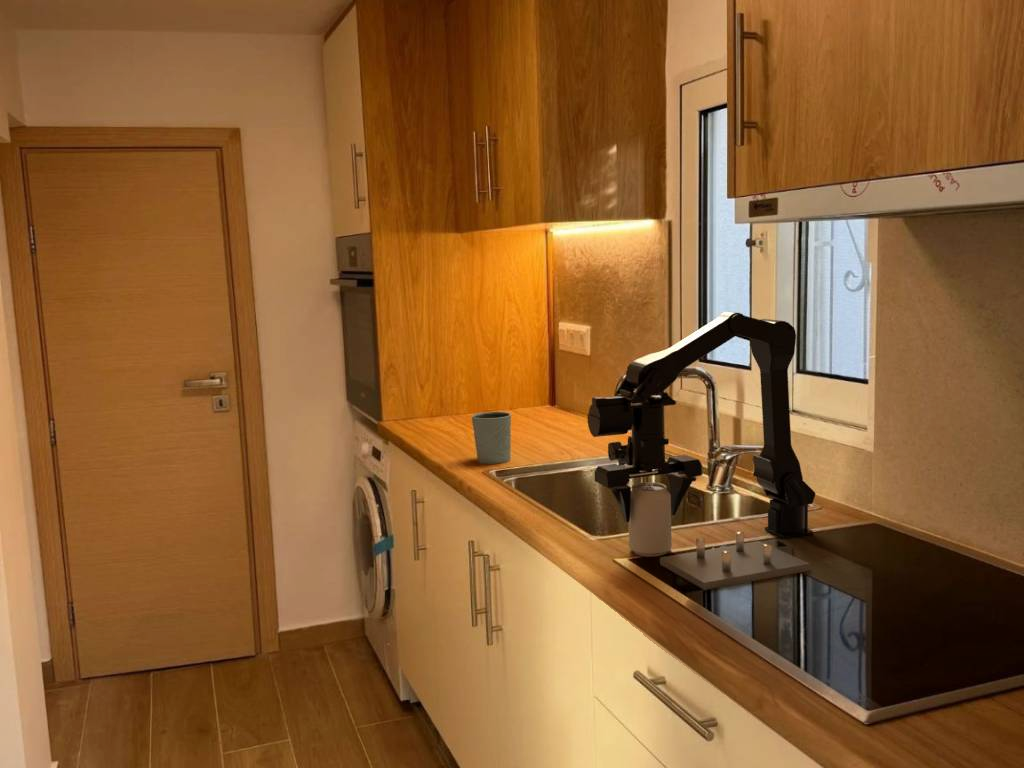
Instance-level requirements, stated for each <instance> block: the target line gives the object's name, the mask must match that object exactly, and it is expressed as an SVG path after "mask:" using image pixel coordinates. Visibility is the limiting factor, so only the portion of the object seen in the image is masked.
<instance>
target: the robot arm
mask: <svg viewBox="0 0 1024 768" xmlns="http://www.w3.org/2000/svg"><path fill="white" fill-rule="evenodd" d="M735 337H736V338H739V339H742V340H745V341H748V342H749V345H750V346H749V347H750V350H751V353H752V356H753V358H754V360H755V362H756V365H757V367H758V369H759V375H760V376H759V377H760V390H761V391H760V395H761V409H762V410H761V411H762V429H763V431H762V432H763V434H762V435H763V447H762V450H761V452H760V454H758V455H757V454H754V455H753V457H752V461H753V465H754V468H753V469H754V470H753V473H752V476H753V477H755V478H756V482H757V484H758V485H759V486H760V487H761V488H762V490H763V492H764V494H765V496H766V497H769V498H771V499H769V508H768V509H767V526H764V531H767V532H768V533H771V534H774V535H776V536H778V537H780V538H783V539H788V538H789V539H791V538H796V537H801V536H808V535H813V534H814V530H812V529H810V528H809V505H812V504H813V503H814V499H815V497H816V492H815V490H813V489H812V487H811V486H810V485H808V484H807V483H806V482H805V481H804V478H803V473H802V468H801V463H800V460H799V459H798V456H797V454H796V452H795V450H794V449H793V446H792V445H793V444H792V435H791V434H792V433H791V415H790V414H791V412H790V409H791V408H790V392H789V391H790V390H789V389H790V388H789V371H788V370H789V366H790V365H791V362H792V360H793V358H794V356H795V351H796V341H797V333H796V329H795V327H794V326H792V324H791V323H790V322H787V321H786V320H778V319H768V318H761V319H758V318H754V317H750V316H747V315H745V314H743V313H740V312H734V311H723V312H722V313H721V314H719V316H717V318H715V319H714V320H711V321H710V322H708V323H707V324H705V325H703V326H702V327H700V328H699V329H698V330H696V331H693V333H691V334H690V335H688V336H686V337H685V338H682V339H681V340H680V341H678V342H677V343H675V344H673V345H671V346H670V347H669V348H666V349H663V350H661V351H657V352H653V353H649V354H646V355H644V356H641V357H639V358H637V359H635V360H633V361H631V363H629V364H628V366H627V367H626V368H627V369H626V372H625V377H624V379H623V380H622V381H621V383H620V385H619V387H618V388H617V390H616V391H615V393H614V396H607V397H606V396H605V397H604V396H603V397H602V396H593V397H592V398H591V405H590V406H589V409H588V414H587V417H586V418H587V426H588V430H589V432H590V434H591V436H592V437H593V438H597V437H598V438H600V437H608V436H609V437H610V436H618V435H626V434H627V433H629V431H631V435H628V438H627V444H625V445H624V444H622V443H621V441H612V442H609V443H607V455H608V459H609V461H611V462H612V461H613V462H614V461H617V462H618V464H617V463H612V464H611V463H610V464H604V465H603V464H602V465H598V466H597V468H596V469H595V471H594V482H595V483H597V484H600V485H602V486H603V487H604V488H607V489H609V490H610V492H611V493H612V495H613V497H614V498H615V500H616V504H617V506H618V508H619V509H618V510H620V513H621V516H622V519H623V521H624V522H625V523H627V524H628V522H629V519H630V502H631V491H632V488H631V487H632V486H629V485H628V484H629V482H630V479H638V478H645V477H646V478H647V477H650V476H651V477H653V476H660V475H666V478H667V480H668V483H669V489H668V490H669V491H668V492H669V493H670V495H671V516H675V515H676V513H677V512H678V510H679V507H680V506H681V503H682V501H683V499H684V497H685V495H686V493H687V491H688V490H689V489H690V487H691V484H692V483H693V482H696V481H697V477H700V476H701V477H702V476H703V473H704V471H703V466H704V465H703V464H702V462H701V460H700V459H699V458H696V457H693V456H690V455H688V454H682V455H674V456H669V457H668V458H667V460H666V445H669V440H670V439H669V438H667V437H665V436H666V433H665V432H666V431H665V426H666V425H665V407H668V406H675V405H677V404H676V403H677V401H676V400H674V399H673V398H672V397H671V396H670V395H669V393H668V392H667V391H666V389H668V388H669V387H670V386H671V385H672V384H673V383H674V382H676V381H677V378H678V377H679V376H680V374H682V373H681V372H683V371H684V370H685V369H686V368H688V367H689V366H691V365H692V364H694V363H696V362H697V361H698V360H701V358H703V357H705V356H706V355H708V354H710V353H711V352H713V351H714V350H716V349H718V348H719V347H720V346H723V345H724V344H726V343H727V342H729V341H730V340H732V339H733V338H735ZM625 465H626V466H632V467H624V466H625Z"/></svg>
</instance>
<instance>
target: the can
mask: <svg viewBox="0 0 1024 768" xmlns="http://www.w3.org/2000/svg"><path fill="white" fill-rule="evenodd" d="M630 487H631V502H630V519H629V522H628V523H627V525H628V547H629V549H630V550H631V551H632V552H633V553H634V555H638V556H641V557H648V558H650V557H654V558H655V557H659V556H664V555H666V554H667V553H668V552H669V551H670V550H671V549H672V546H673V544H672V543H673V542H672V515H671V495H670V493H669V491H668V490H667V489H668V486H667V485H665V484H664V483H660V482H659V483H658V482H640V483H639V482H638V483H634V484H633V485H632V486H630Z"/></svg>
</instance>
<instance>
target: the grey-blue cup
mask: <svg viewBox="0 0 1024 768" xmlns="http://www.w3.org/2000/svg"><path fill="white" fill-rule="evenodd" d="M511 418H512V413H511V412H508V411H507V412H506V411H487V412H486V411H485V412H479V413H476V414H472V415H471V423H472V427H473V429H472V430H473V435H474V436H473V437H474V443H475V444H474V445H475V450H476V457H477V458H476V459H477V462H478V463H480V464H485V465H496V464H498V463H499V464H504V462H505V463H508V462H509V461H511V459H512V458H511V455H512V454H511V453H512V451H511V449H512V447H511V443H512V442H511V441H512V438H511V437H512V434H511V433H512V431H511V425H512V419H511Z"/></svg>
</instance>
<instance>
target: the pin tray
mask: <svg viewBox="0 0 1024 768" xmlns="http://www.w3.org/2000/svg"><path fill="white" fill-rule="evenodd" d="M695 542H696V543H695V544H696V545H695V547H696V549H695V551H690V552H685V553H679V554H674V555H672V554H671V555H668V556H662V557H659V565H660V566H662V567H664V568H666V569H667V570H669V571H671V572H672V573H674V574H675V575H677V576H680V577H681V578H683V579H684V580H686V581H688V582H690V583H691V584H693V585H695V586H696V587H699V588H700V589H702V590H704V591H706V590H713V589H718V588H722V587H723V588H724V587H729V586H733V585H734V586H735V585H739V584H744V583H750V582H754V581H761V580H766V579H773V578H776V577H783V576H788V575H794V574H798V573H799V574H800V573H804V572H810V568H811V567H810V566H811V565H810V563H809V562H807V561H805V560H802V559H800V558H799V557H795V556H794V555H791V554H790V553H787V552H786V551H784V550H783V551H782V550H780V549H779V548H776V547H774V546H772V544H771V543H765V542H762V541H760V540H758V541H757V540H756V541H752V542H745V532H744V531H735V544H732V545H725V546H722V547H721V546H720V547H715V548H709V549H706V548H705V547H706V546H705V545H706V539H705V538H703V537H697V538H696V541H695Z"/></svg>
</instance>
